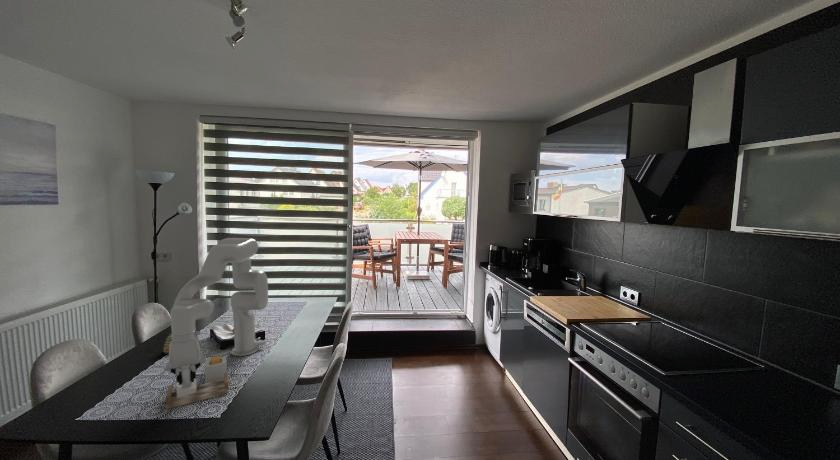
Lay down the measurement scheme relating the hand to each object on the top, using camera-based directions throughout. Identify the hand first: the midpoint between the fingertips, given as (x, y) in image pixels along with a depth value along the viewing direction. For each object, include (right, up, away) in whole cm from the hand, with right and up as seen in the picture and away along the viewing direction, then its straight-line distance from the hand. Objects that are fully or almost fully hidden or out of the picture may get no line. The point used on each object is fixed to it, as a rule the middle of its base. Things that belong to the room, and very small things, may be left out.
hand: (186, 381), depth 128 cm
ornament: (-37, -3, +41) cm, 55 cm away
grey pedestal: (0, -4, 0) cm, 4 cm away
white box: (+3, -6, +14) cm, 16 cm away
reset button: (+3, +1, +14) cm, 14 cm away
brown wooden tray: (+3, -7, +3) cm, 8 cm away
